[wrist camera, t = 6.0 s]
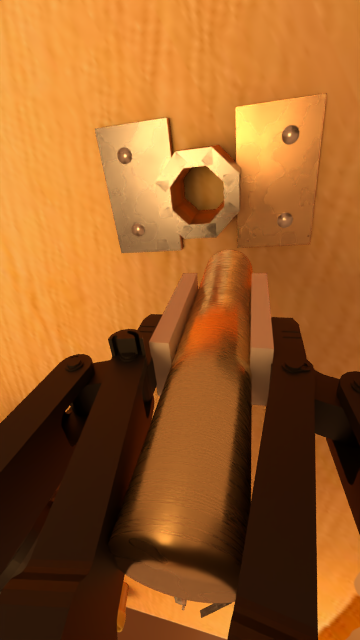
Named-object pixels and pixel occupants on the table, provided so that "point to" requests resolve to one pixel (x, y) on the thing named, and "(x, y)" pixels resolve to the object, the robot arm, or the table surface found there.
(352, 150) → the table surface
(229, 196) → the hinge
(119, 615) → the plant pot
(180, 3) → the table surface
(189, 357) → the hinge pin
